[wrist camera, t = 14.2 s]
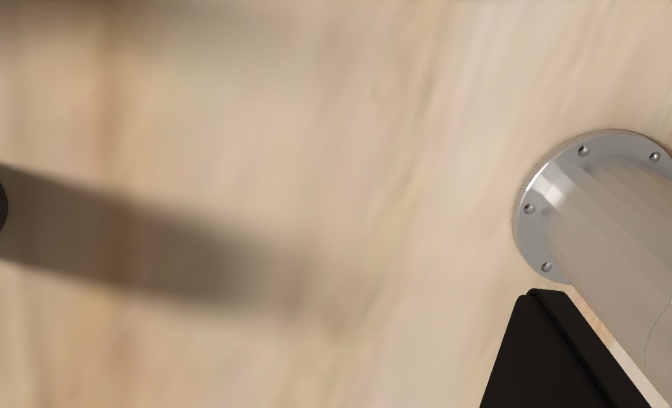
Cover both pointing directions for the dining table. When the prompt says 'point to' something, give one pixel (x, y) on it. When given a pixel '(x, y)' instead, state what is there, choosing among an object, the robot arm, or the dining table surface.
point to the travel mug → (3, 207)
